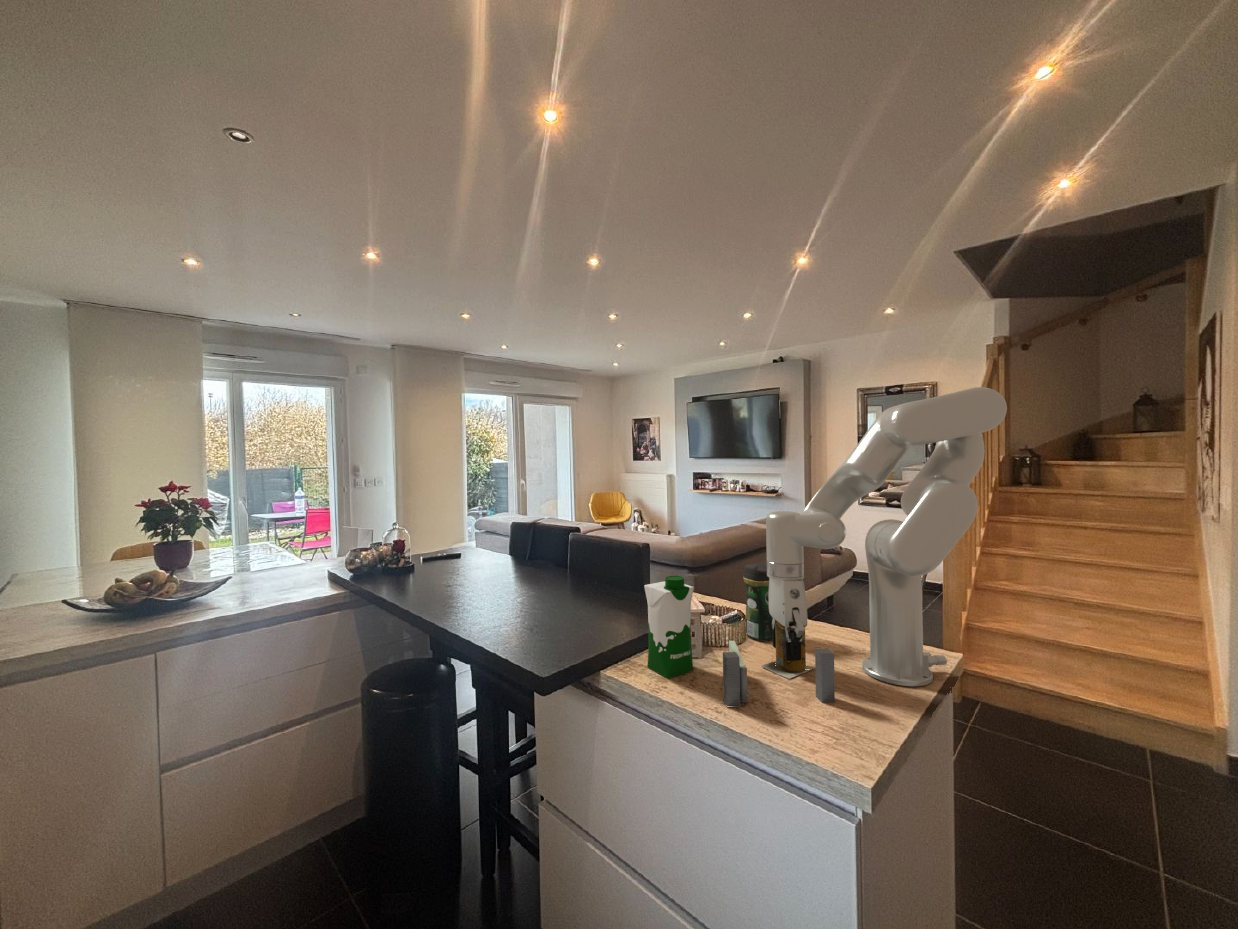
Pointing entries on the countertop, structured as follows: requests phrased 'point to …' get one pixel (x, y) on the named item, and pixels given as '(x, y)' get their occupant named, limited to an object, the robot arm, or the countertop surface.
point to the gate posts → (822, 669)
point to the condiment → (782, 665)
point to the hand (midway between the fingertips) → (786, 652)
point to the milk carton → (669, 626)
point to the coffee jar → (757, 602)
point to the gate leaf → (743, 672)
